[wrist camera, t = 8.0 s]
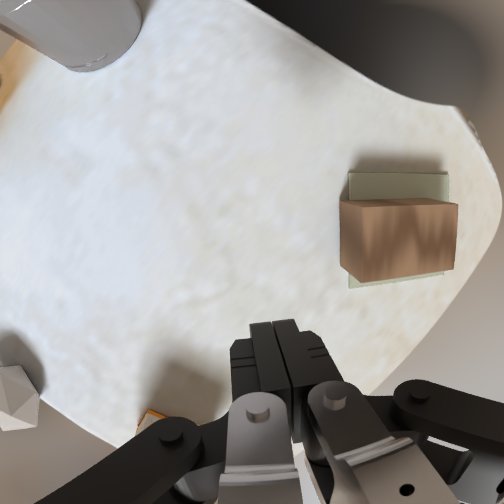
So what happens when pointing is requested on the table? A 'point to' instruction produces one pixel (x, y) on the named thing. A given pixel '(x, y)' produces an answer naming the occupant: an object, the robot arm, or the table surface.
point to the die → (17, 399)
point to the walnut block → (397, 237)
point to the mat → (396, 188)
